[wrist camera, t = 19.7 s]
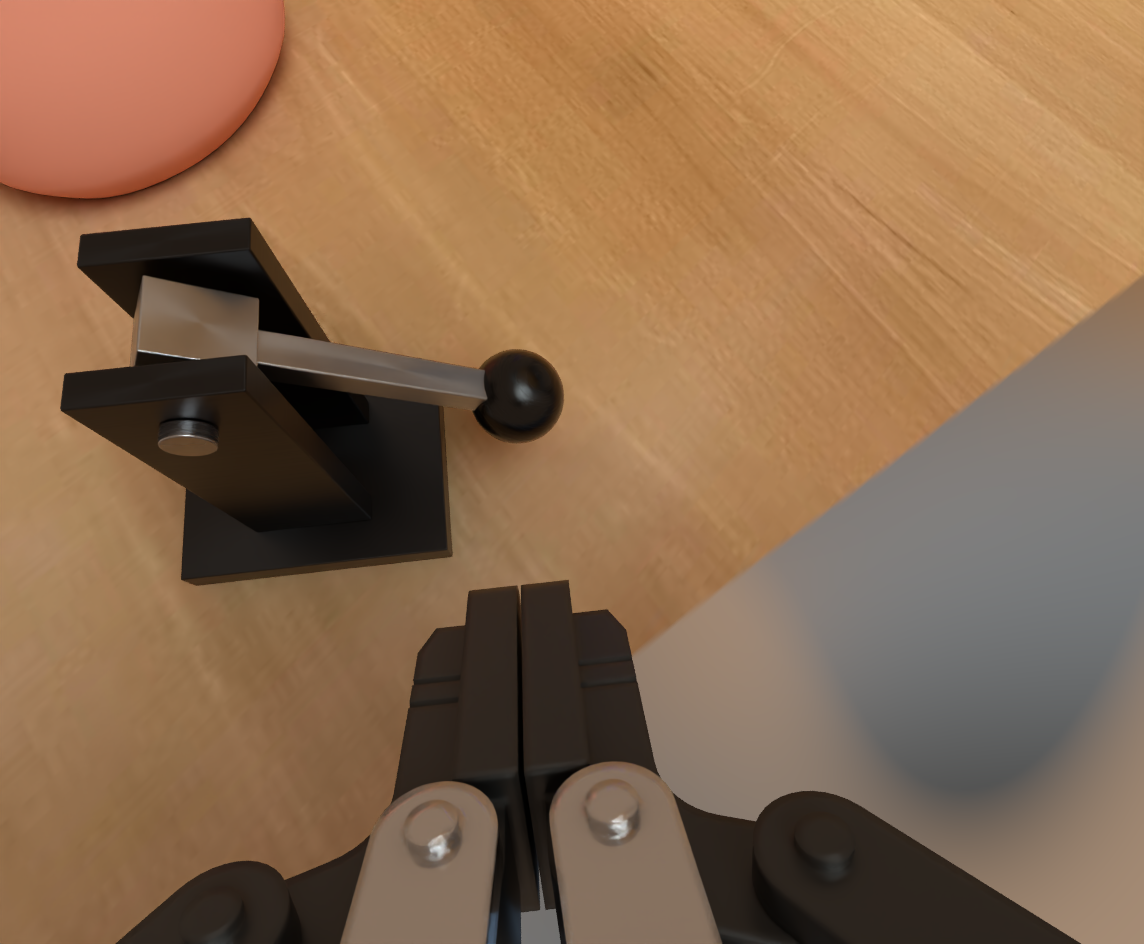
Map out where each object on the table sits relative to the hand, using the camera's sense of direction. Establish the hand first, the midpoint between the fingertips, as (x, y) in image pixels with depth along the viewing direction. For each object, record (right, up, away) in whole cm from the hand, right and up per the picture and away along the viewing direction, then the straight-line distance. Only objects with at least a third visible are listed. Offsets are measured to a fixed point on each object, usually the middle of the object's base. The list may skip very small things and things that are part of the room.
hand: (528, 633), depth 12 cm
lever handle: (-6, +5, +13) cm, 15 cm away
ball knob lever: (-9, +2, +19) cm, 22 cm away
